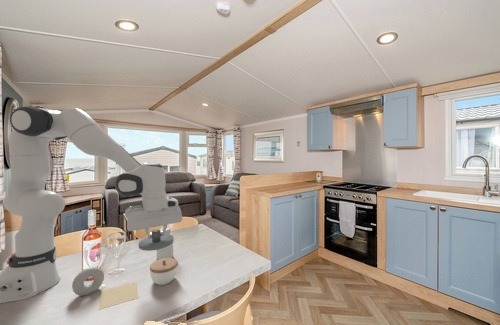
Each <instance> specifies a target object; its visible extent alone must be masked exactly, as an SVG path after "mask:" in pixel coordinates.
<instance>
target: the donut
mask: <svg viewBox="0 0 500 325" xmlns="http://www.w3.org/2000/svg"><path fill="white" fill-rule="evenodd" d="M90 277H93V280H92V282H91V283H90V284H87V285H86V284H84V283H85V281H86V280H87V279H88V278H90ZM104 280H105V273H104V271H103V269H101V268H99V267H98V266H97V267H96V266H91V267H87V268H85V269H83V270H81V271H80V272H79V273H78V274H77V275H76V276H75V277H74V279H73V281H72V284H71V289H72V291H73V293H74V294H75V295H77V296H81V297H84V296H89V295H91V294H93V293H94V292H97V290H98V289H100V287H101V286H102V284H103V282H104Z"/></svg>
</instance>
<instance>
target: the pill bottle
mask: <svg viewBox="0 0 500 325" xmlns="http://www.w3.org/2000/svg"><path fill="white" fill-rule="evenodd" d="M163 228H164V227H161V228H159V230H160V231H162V230H163ZM165 234H167V235H171V236H173V237H174V235H173V233H172V232H171V228H170V227H169V226H167V228H166V230H165ZM173 256H174V242H173V243H172V244H171V245H169V246H167V247H165V248H162V249H158V250H156V260H159V259H163V258H173Z"/></svg>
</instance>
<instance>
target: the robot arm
mask: <svg viewBox="0 0 500 325" xmlns="http://www.w3.org/2000/svg"><path fill="white" fill-rule="evenodd" d="M9 124H10V126H11V128H12V129H13V130H12V131H11V132H10V136H9V144H8V155H9V156H8V157H9V165H10V166H9V167H10V180H9V186H8V190H7V191H8V192H7V194H6V196H5V198H4V199H3V203H2V204H3V207H4V209H6V211H8V212H9V213H10V214H12V215H13V216H14V215H15V216H18V217H21V223H20V227H19V229H18V232H16V233H15V235H14V242H15V243H14V244H15V246H14V252H13V253H12V254H10V257H8V258H7V260H6V265H8V266H6V267H5V268H4V269H2V270H0V304H4V303H10V302H16V301H23V300H27V299H31V298H33V297H34V296H36V295H38V294H39V293H41V292H44V291H47V290H48V289H50V288H52V287H53V286H56V284H58V283H59V282H60V280H61V277H60V275H59V272H58V269H57V266H56V260H57V250H56V246H55V226H56V223H57V220H58V217H59V215H60V214H61V213H62V212H63V211H64V210H65V207H66V202H65V199H64V197H63V196H62V195H60V194H59V193H57V192H55V191H52V190H46V183H47V180H48V177H50V176H51V174H52V173H51V172H52V169H51V157H50V149H49V146H50V142H51V141H52V140H56V141H60V140H62V139H66V138H68V140H69V141H71V143H72V144H73V145H74V146H75V147H76V148H77V149H79V150H80V151H81V152H83V153H84V154H86V155H90V156H93V157H100V158H105V159H108V160H111V161H113V162H114V163H115V164H117V166H119V167H120V168H121V169H122V170H123V171H125V172H123V173H121V174H119V175H118V176H117V177H116V178H115V182H114V187H115V190H116V191H117V192H118V194H119V195H120V196H122V197H132V196H137V195H141V199H142V204H138V205H131V206H129V207H127V208H125V210H124V216H125V218H126V220H127V221H126V229H127V230H128V232H133V231H139V230H144V232H145V233H146V234H147V237H148V239H150V238H152V231H151V232H149V230H150V228H157V227H161V226H162V228H163V230H162V231H160V234H161V236H164V235H165V230H166V228H167V227H168V225H171V224H177V223H178V224H179V223H181V222H182V221H183V214H182V210H181V207H180V206H179V200H178V199H176V197H170V196H167V192H166V185H167V184H166V183H167V182H166V172H165V168H164V166H163V165H162V164H160V163H157V162H150V161H149V162H143V163H142V164H141V163H140V162H139V161H138V160H136V159H135V157H133V155H131V154H130V153H129V152H128V151H127V150H126V149H125V148H124V147H123V146H121V145H120V144H119V143H118V142H116V140H115V139H113V138H112V137H111V136H110V135H109V134H108V133H107V132H106V131H105V130H104V128H102V127H101V126H100V124H98V123H97V122H96V121H95V119H93V118H92V117H91V116H90V115H89V114H87V113H86V112H85V111H83V110H82V109H79V108H77V107H68V108H66V109H63V110H62V111H61V110H57V109H52V108H43V107H36V106H19V107H17V108H15V109H13V110H12V112H11V114H10V116H9ZM127 230H126V231H127Z"/></svg>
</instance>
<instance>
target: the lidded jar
mask: <svg viewBox="0 0 500 325" xmlns="http://www.w3.org/2000/svg"><path fill="white" fill-rule="evenodd" d="M178 263H179V262H178V260H177V259H176V258H173V257H172V258H163V259H159V260H158V259H156V260H154V261H153V262H152V263H150V265H149V271H150V278H151V280H152V282H153V283H154V284H155V285H158V286H164V285H168V284H170V283H172V281H174V279H175V277H176V276H177V272H178Z"/></svg>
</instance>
